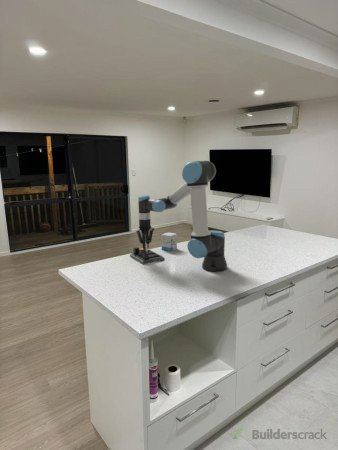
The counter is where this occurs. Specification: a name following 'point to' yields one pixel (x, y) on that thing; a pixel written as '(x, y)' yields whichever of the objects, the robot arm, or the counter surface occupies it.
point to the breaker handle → (141, 252)
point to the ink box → (169, 241)
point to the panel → (151, 257)
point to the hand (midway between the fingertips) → (145, 252)
